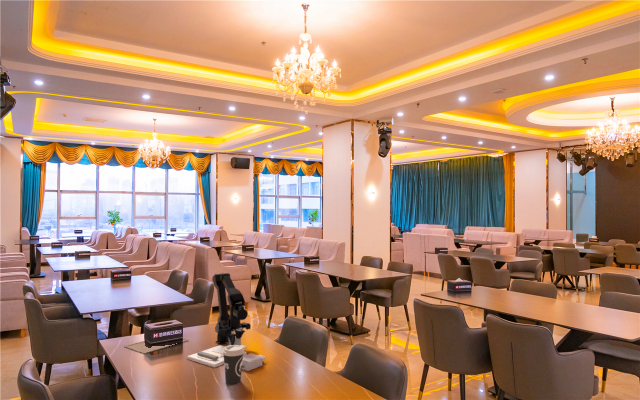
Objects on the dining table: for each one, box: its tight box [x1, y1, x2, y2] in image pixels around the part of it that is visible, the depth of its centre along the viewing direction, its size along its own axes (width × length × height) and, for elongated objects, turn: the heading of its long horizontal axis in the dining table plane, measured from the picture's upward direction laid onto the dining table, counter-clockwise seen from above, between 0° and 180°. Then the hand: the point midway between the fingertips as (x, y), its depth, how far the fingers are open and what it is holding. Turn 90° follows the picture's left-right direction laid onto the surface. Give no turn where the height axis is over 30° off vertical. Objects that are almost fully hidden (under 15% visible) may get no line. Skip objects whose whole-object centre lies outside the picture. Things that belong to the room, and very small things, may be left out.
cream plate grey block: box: [223, 337, 247, 350], centre depth 232 cm, size 8×10×5 cm
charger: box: [242, 353, 267, 372], centre depth 211 cm, size 5×9×15 cm
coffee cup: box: [222, 345, 245, 386], centre depth 190 cm, size 10×10×15 cm
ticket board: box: [187, 344, 248, 368], centre depth 222 cm, size 22×20×3 cm
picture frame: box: [123, 338, 189, 355], centre depth 242 cm, size 19×1×28 cm
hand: (234, 345), depth 232 cm, fingers closed on cream plate grey block, 3 cm apart
